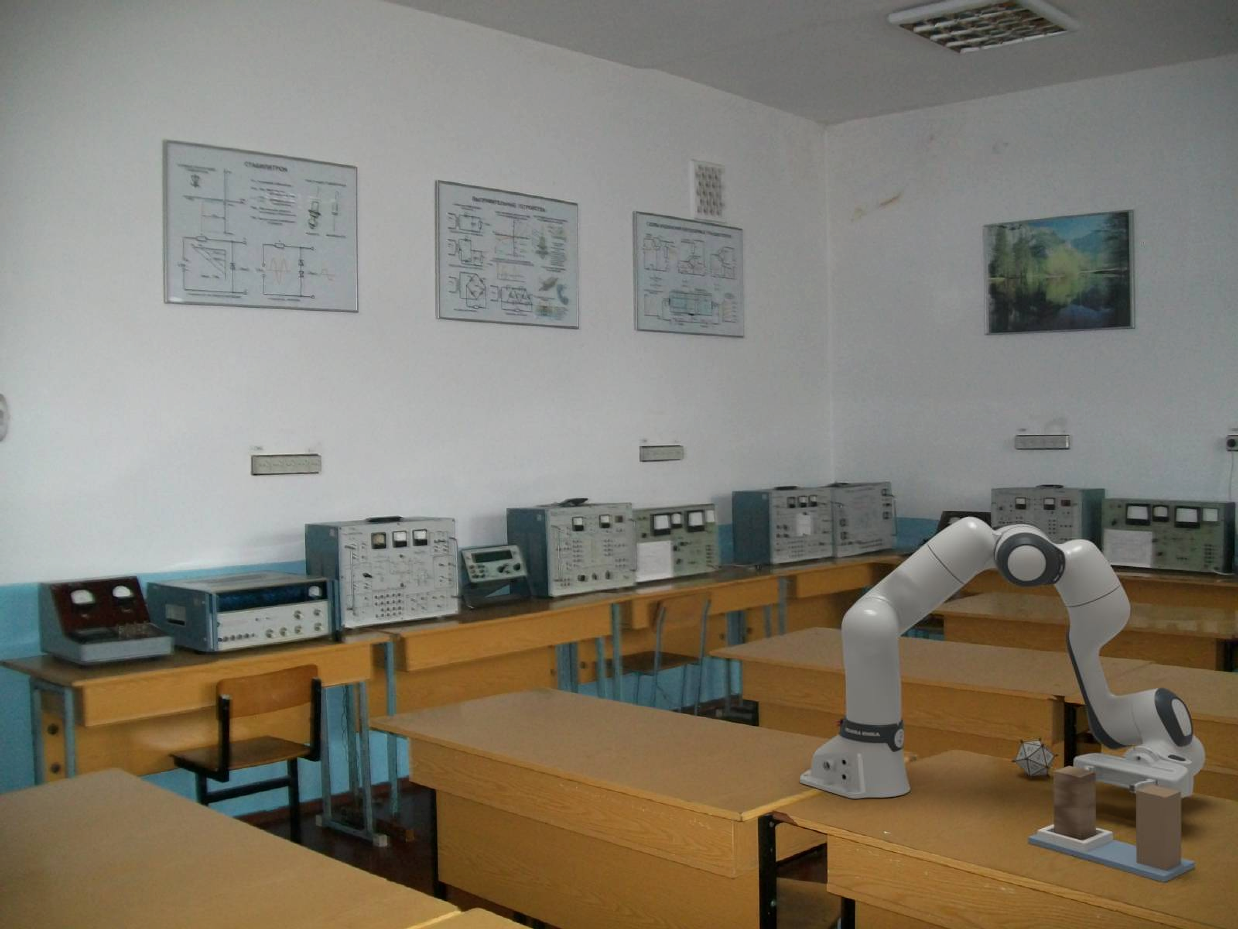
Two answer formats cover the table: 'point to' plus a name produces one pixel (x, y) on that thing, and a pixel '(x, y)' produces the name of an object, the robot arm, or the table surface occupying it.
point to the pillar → (1075, 802)
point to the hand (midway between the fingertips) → (1108, 783)
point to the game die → (1034, 758)
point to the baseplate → (1119, 859)
